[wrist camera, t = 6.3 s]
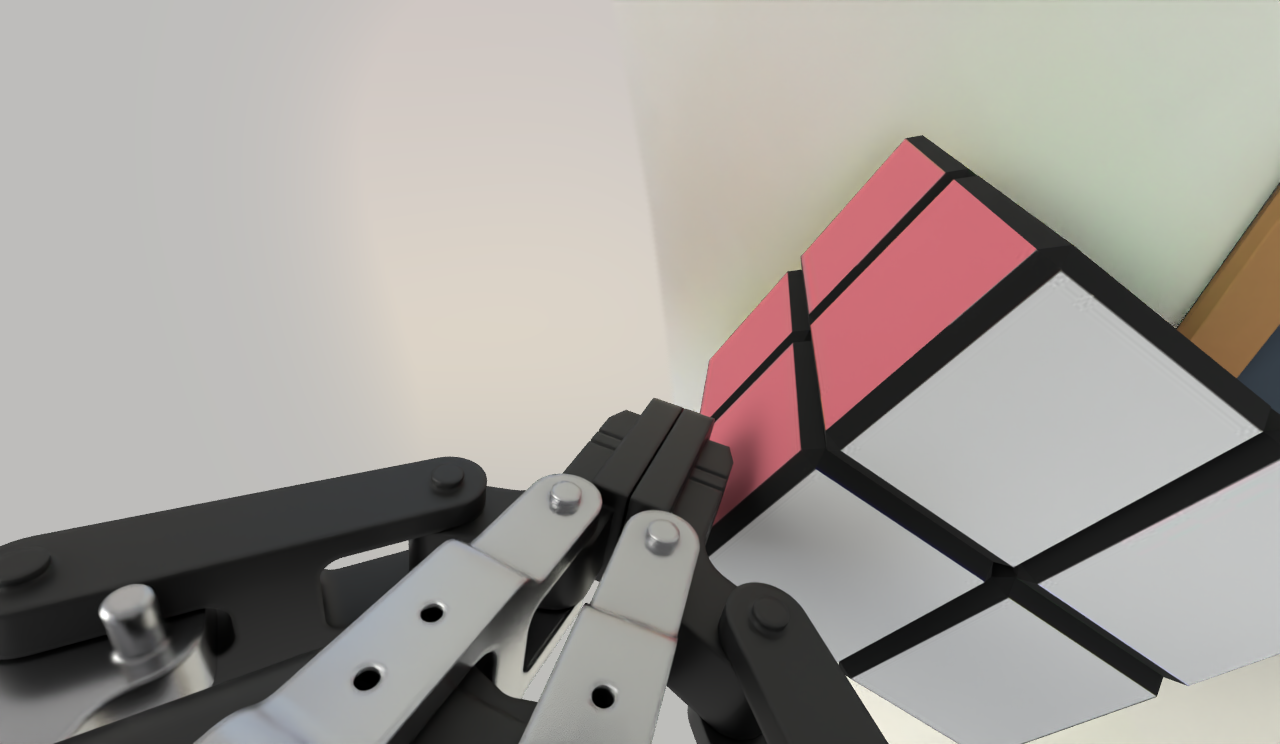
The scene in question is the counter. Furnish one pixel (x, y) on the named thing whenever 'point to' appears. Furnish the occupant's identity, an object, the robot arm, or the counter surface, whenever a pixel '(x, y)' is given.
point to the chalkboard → (1245, 308)
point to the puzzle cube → (992, 467)
